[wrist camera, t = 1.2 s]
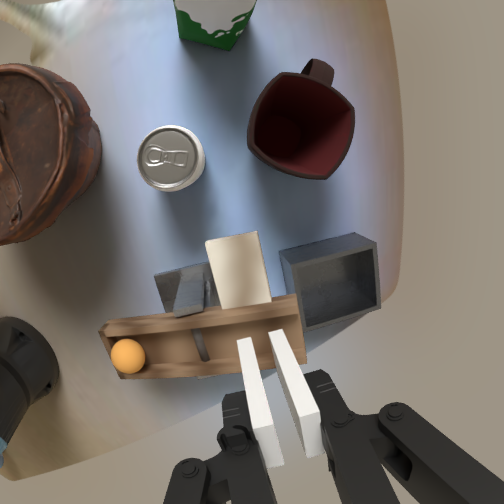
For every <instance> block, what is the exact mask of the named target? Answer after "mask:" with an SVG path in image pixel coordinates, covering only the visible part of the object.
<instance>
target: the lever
mask: <svg viewBox="0 0 504 504" xmlns="http://www.w3.org/2000/svg"><path fill="white" fill-rule="evenodd" d="M205 246H206V250H207V254H208V258H209V262H210V265H211V269H212V273H213V277H214V280H215V284H216V288H217V292H218V295H219V299H220V302H221V306H214V307H207V308H203V311H201V312H197V313H192V314H188V315H184V316H179V317H175V316H174V313H173V312H171V313H163V314H155V315H147V316H138V317H130V318H121V319H112V320H108V321H107V322H106V323H105V324H104V325H103V327H102V328H101V329H100V330H99V331H98V332H99V334H100V337H101V339H102V341H103V343H104V346H105V348H106V350H107V352H108V354H109V356H110V359H111V350H112V348H113V346H114V345H115V344H116V343H117V342H118V341H120V340H122V339H132V340H134V341H136V342H138V343H139V344H140V345H141V346H142V348H143V349H144V352H145V363H144V365H143V367H142V368H141V369H140V370H139V371H137V372H135V373H132V374H127V373H123V372H121V371H119V370H118V369H117V368H116V367H115V366H114V367H115V369H116V371H117V373H118V375H119V377H120V379H151V378H176V377H193V376H207V375H219V374H230V373H240V372H242V368H241V362H240V357H239V351H238V345H237V340H240V339H244V338H248V337H251V339H252V343H253V347H254V351H255V355H256V359H257V363H258V367H259V370H265V369H273V368H276V365H275V361H274V356H273V352H272V347H271V343H270V338H269V334H268V332H272V331H276V330H279V329H282V330H283V332H284V334H285V336H286V338H287V341H288V343H289V345H290V347H291V349H292V352H293V354H294V356H295V358H296V360H297V363H298V365H300V364H307V358H306V348H305V342H304V336H303V330H302V324H301V318H300V312H299V307H298V301H297V295H296V294H290V295H284V296H278V297H271V292H270V287H269V282H268V278H267V273H266V268H265V264H264V259H263V254H262V249H261V245H260V240H259V235H258V231H254V232H249V233H243V234H238V235H233V236H228V237H223V238H218V239H213V240H208V241H206V242H205ZM111 361H112V360H111Z"/></svg>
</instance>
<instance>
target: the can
mask: <svg viewBox="0 0 504 504" xmlns="http://www.w3.org/2000/svg"><path fill="white" fill-rule="evenodd" d="M137 166H138V170H139V173H140V175H141V176H142V178H143V179H144V181H145V182H146V183H147V184H149V185H150V186H151V187H153V188H155V189H157V190H160V191H166V192H172V191H178V190H181V189H183V188H185V187H187V186H189V185H190V184H192V183H193V182H195V181H196V180H197V179H198V178H199V177H200V175H201V174H202V172H203V170H204V167H205V154H204V151H203V148H202V145H201V143H200V141H199V140H198V138H197V137H196V136H195V135H194V134H193V133H192V132H191V131H189V130H188V129H186V128H184V127H181V126H176V125H167V126H162V127H159V128H157V129H155V130H153V131H152V132H150V133H149V134H148V135H147V136H146V137H145V138H144V140H143V141H142V143H141V145H140V147H139V149H138V153H137Z"/></svg>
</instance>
